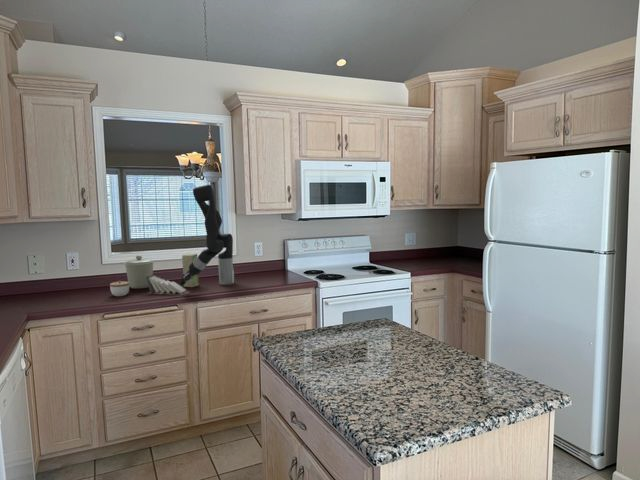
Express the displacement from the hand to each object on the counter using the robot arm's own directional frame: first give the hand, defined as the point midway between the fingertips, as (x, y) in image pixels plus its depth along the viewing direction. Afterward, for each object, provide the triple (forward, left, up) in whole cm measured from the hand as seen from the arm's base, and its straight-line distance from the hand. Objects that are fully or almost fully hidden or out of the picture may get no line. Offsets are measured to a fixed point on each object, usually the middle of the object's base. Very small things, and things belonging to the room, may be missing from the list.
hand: (181, 284), depth 269 cm
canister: (+33, -21, -6) cm, 40 cm away
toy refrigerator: (0, -21, -6) cm, 22 cm away
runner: (+8, -2, -6) cm, 10 cm away
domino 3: (+11, -3, -5) cm, 12 cm away
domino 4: (+7, -2, -5) cm, 8 cm away
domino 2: (+14, -4, -5) cm, 16 cm away
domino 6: (-1, 0, -5) cm, 5 cm away
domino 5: (+3, -1, -5) cm, 5 cm away
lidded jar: (+36, +2, -6) cm, 37 cm away
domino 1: (+18, -5, -5) cm, 20 cm away
